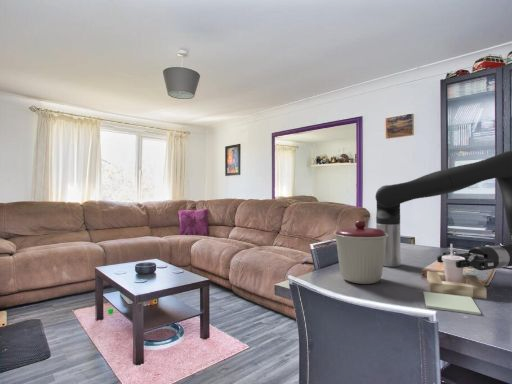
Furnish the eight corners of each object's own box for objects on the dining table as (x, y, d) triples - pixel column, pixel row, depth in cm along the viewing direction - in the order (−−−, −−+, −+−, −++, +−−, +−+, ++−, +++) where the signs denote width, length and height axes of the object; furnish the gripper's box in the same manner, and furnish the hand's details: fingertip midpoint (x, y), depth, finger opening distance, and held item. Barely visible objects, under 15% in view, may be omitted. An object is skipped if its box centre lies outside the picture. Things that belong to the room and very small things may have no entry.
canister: (380, 292, 94) (379, 224, 94) (326, 282, 105) (325, 221, 105) (394, 277, 109) (393, 219, 109) (345, 270, 120) (344, 216, 119)
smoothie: (437, 284, 100) (436, 242, 100) (455, 284, 100) (455, 241, 100) (451, 291, 93) (450, 246, 93) (471, 290, 94) (470, 245, 94)
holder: (430, 292, 93) (430, 282, 93) (427, 279, 106) (427, 271, 106) (486, 298, 87) (486, 288, 87) (475, 284, 100) (475, 275, 100)
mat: (426, 307, 82) (426, 305, 82) (423, 293, 93) (423, 291, 93) (480, 315, 77) (480, 312, 77) (471, 299, 87) (471, 297, 87)
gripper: (468, 242, 107) (428, 245, 103) (511, 250, 93) (468, 254, 89) (468, 263, 107) (429, 267, 103) (511, 274, 93) (468, 280, 89)
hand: (447, 261), depth 96 cm, fingers closed on smoothie, 6 cm apart
